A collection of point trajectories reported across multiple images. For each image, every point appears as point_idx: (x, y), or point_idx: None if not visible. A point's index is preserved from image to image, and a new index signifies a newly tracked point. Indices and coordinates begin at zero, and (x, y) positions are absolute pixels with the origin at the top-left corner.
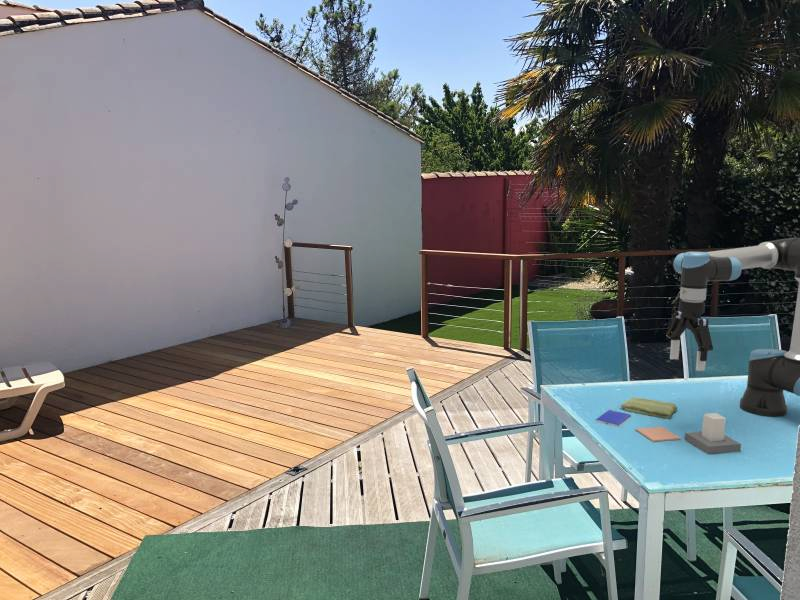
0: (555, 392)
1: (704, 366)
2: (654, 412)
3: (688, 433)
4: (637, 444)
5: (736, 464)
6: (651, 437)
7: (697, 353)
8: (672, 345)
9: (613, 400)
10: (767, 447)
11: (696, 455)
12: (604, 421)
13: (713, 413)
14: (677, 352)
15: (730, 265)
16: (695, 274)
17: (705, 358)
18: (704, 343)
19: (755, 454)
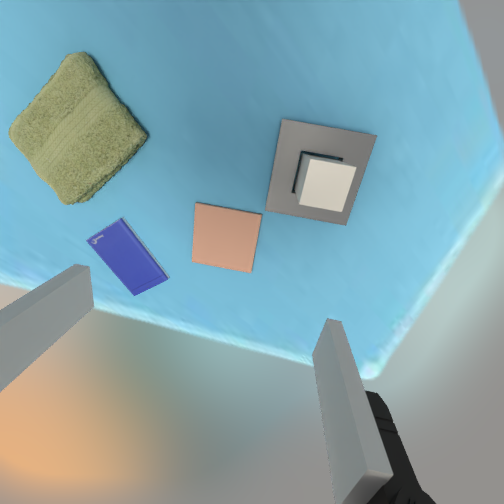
0: None
1: (345, 345)
2: (120, 162)
3: (271, 207)
4: (249, 300)
5: (404, 207)
6: (238, 265)
7: (334, 473)
8: (10, 379)
9: (12, 176)
10: (397, 25)
11: (333, 245)
12: (146, 289)
13: (309, 170)
14: (55, 301)
15: None
16: None
17: (387, 425)
18: None
19: (402, 112)
